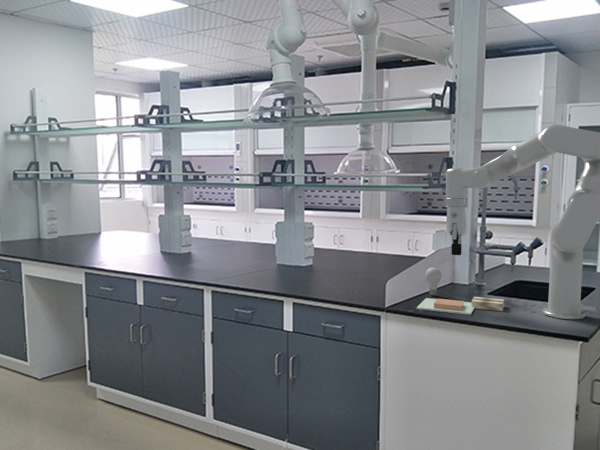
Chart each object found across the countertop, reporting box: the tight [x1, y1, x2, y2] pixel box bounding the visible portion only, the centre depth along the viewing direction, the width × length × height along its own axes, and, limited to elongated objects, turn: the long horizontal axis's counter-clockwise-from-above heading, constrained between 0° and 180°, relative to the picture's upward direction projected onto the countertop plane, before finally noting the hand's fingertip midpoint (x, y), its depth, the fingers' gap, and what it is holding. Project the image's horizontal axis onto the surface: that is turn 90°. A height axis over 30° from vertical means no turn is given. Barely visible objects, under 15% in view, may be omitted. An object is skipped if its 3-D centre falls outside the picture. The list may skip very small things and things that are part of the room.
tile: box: [434, 298, 465, 311], centre depth 186 cm, size 8×2×9 cm
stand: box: [470, 296, 505, 312], centre depth 189 cm, size 10×7×2 cm
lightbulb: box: [424, 267, 443, 297], centre depth 206 cm, size 6×6×11 cm
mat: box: [416, 297, 476, 316], centre depth 189 cm, size 18×16×1 cm
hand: (456, 254), depth 191 cm, fingers closed
